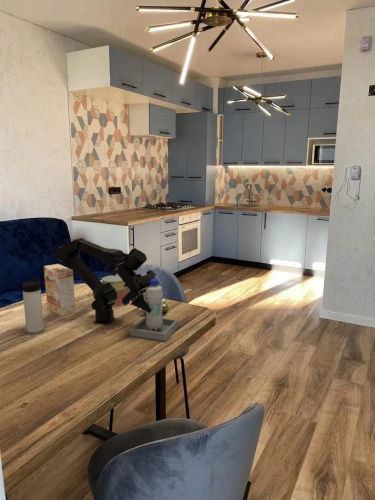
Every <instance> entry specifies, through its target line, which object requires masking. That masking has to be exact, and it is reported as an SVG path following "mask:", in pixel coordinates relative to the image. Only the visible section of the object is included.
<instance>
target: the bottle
mask: <svg viewBox="0 0 375 500" xmlns="http://www.w3.org/2000/svg"><path fill="white" fill-rule="evenodd" d="M158 282H159V280H158V279H157V278H155V279H152V280H151V282H150V283H149V286H147V287H146V292H145V293H144V295H145V300H146V303H147V304H148V306H149V307H150V309H151V312H150V313H149V312H147V311H145V314H146V313H147V315H145V316H146V327H147V329H148V330H150V331H152V330H153V329H154V330H155V332H156V331H157V329H158V330H161V328H162V325H163V319H162V318H163V307H162V299H164V297H163V296H164V294H163V293H164V292H163V288H162V285H161V286H160V284H159V285H158Z"/></svg>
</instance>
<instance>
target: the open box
mask: <svg viewBox="0 0 375 500" xmlns="http://www.w3.org/2000/svg"><path fill="white" fill-rule="evenodd" d="M146 316H147V315H145V316H144V317H143V318H141V319H140V320H139V321H138V322H136V323H135V324H134V325H133V326H132V327H130V329H129V337H131V338H137V339H143V340H151V341H156V342H162V343H165V342H167V341H168V339H169V338H170V337H171V336H172V335H173V333H175V332H176V331H177V329H178V328H179V327H180V326H179V325H180V323H179V319H174V318H166V317H162V319H163V325H162V328H161V330H158V329H157V331H156V332H155V330H154V329H153V330H152V331H150V330H148V329H147V327H146Z"/></svg>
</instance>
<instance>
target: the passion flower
mask: <svg viewBox="0 0 375 500" xmlns="http://www.w3.org/2000/svg"><path fill="white" fill-rule="evenodd" d="M143 296H144V300H145V294H143ZM145 301H146V300H145ZM162 309H163V310H164V311H165V312H166V313H168V312H169V306H168V303H167V302H166V299H165V298H163V299H162ZM142 310H143V309H141V308H138V311H142ZM145 316H147V313H146V312H145Z"/></svg>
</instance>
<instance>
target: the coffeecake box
mask: <svg viewBox="0 0 375 500" xmlns="http://www.w3.org/2000/svg"><path fill="white" fill-rule="evenodd" d="M43 273H44V274H43V275H44V284H45V285H44V287H45V297H46V308H47V309H48V308H49V310H50V311H51V312H54V313H55V314H56V315H58V316H60V317H65V316H69V315H72V314H76V313H77V312H76V311H77V310H76V309H77V308H76V299H75V298H76V297H75V282H74V270H73V269H72V268H69V267H66V266H64V265H62V264H60V263H56V264H51V265H50V264H48V265H45V266H43Z"/></svg>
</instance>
